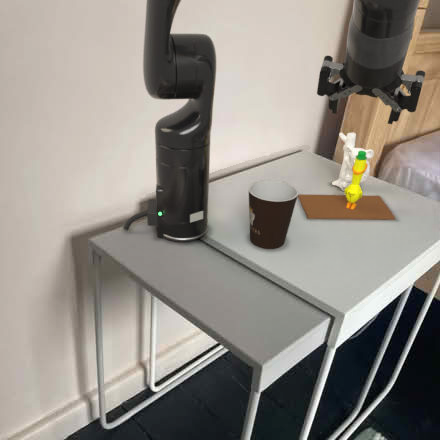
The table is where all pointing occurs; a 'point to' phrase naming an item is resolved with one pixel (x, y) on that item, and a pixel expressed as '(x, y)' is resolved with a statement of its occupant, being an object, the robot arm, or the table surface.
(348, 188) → the toy figure
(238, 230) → the table surface
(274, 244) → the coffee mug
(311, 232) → the table surface
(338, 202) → the placemat
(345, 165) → the white animal statuette
